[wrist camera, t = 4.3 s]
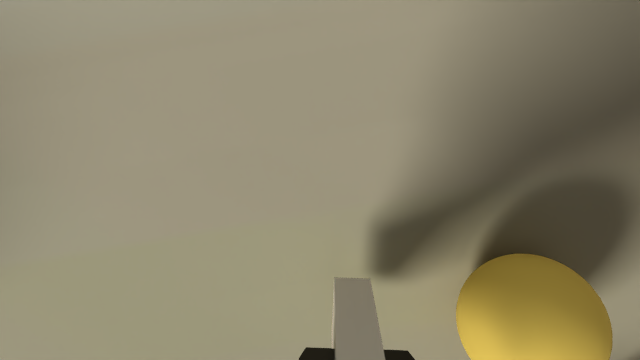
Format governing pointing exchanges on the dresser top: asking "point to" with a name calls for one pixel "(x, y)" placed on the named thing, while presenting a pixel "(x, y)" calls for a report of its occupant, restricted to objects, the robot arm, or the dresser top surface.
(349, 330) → the robot arm
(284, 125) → the dresser top surface
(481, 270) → the ball
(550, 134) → the dresser top surface
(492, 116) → the dresser top surface
